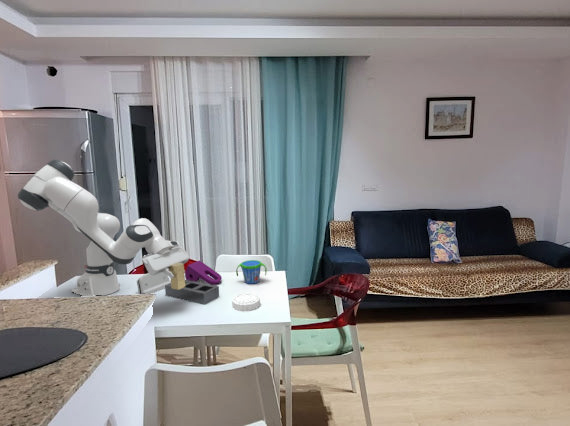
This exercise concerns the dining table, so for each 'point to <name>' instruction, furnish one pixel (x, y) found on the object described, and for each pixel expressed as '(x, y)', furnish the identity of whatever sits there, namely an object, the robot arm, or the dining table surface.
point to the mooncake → (246, 302)
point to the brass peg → (177, 276)
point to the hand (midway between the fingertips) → (178, 275)
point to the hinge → (152, 283)
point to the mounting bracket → (202, 273)
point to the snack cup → (251, 271)
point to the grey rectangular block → (194, 292)
